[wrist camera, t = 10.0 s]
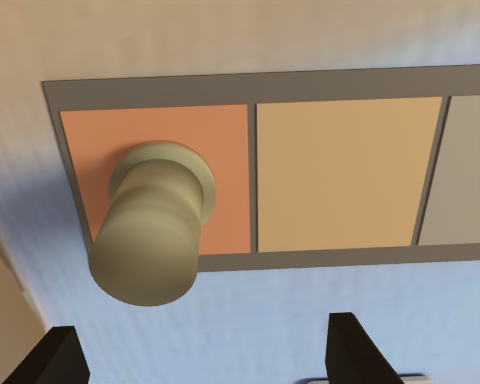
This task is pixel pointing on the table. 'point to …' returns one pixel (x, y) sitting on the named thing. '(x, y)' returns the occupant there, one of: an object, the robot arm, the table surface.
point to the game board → (296, 160)
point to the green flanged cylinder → (153, 224)
